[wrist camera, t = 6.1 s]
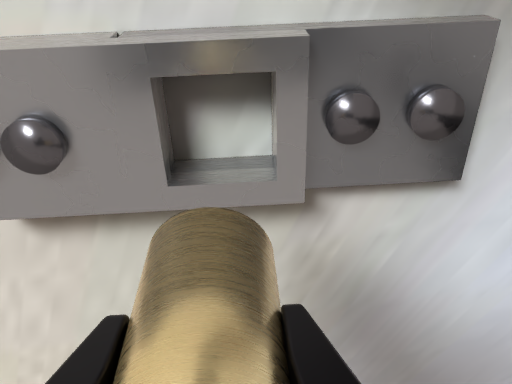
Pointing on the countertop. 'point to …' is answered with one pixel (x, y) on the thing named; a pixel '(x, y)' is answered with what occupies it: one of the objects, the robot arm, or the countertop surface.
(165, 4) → the countertop surface
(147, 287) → the brass pin
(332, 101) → the lower chain end
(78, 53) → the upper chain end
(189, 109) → the countertop surface
